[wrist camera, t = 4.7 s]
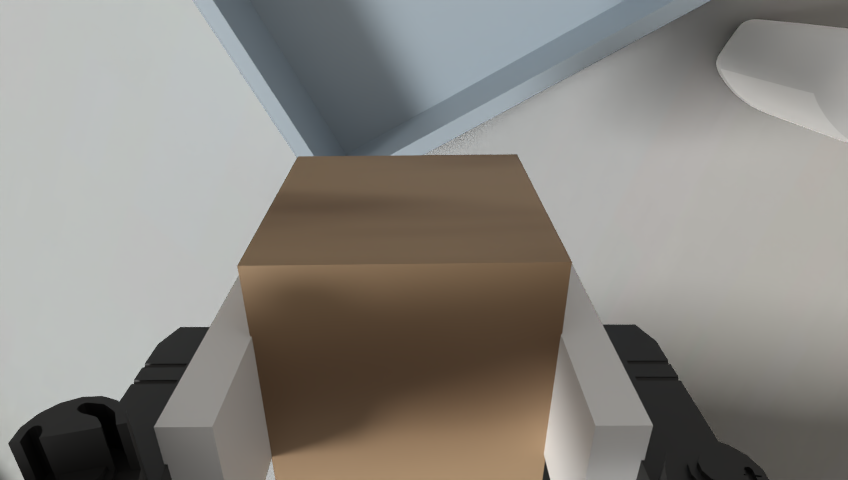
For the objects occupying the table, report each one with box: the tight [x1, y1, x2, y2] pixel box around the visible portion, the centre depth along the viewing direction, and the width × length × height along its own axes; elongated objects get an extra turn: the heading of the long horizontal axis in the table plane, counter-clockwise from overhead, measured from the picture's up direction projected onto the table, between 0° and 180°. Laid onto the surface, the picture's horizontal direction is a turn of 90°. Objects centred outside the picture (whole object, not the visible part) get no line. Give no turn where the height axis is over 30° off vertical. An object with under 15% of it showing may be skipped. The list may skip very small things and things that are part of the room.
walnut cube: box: [237, 154, 572, 480], centre depth 12 cm, size 5×5×5 cm
